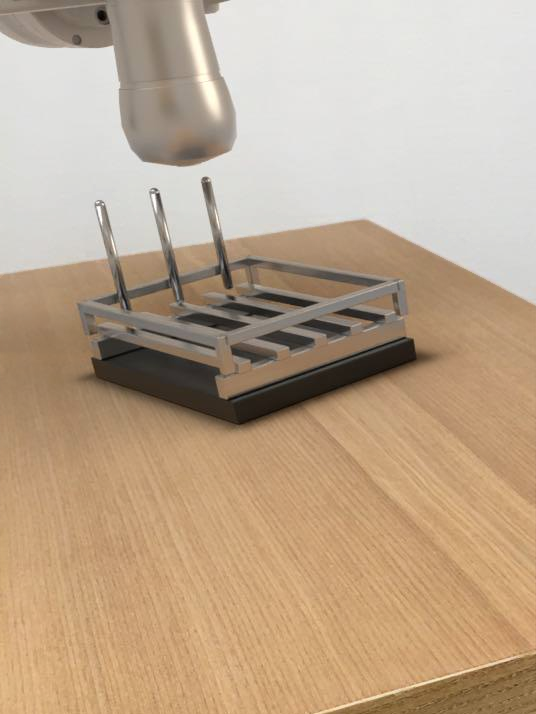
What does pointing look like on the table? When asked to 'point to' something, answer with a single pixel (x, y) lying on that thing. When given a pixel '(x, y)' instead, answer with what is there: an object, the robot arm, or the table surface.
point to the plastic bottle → (170, 82)
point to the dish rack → (242, 331)
